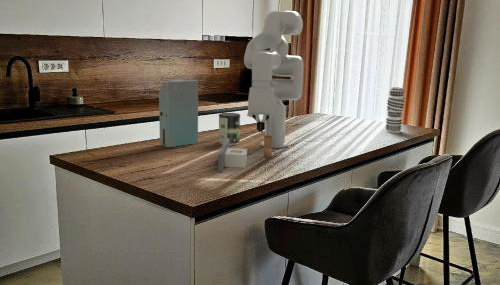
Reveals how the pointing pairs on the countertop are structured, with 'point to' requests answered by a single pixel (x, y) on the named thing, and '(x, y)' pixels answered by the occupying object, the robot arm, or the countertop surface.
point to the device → (178, 113)
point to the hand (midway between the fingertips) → (260, 131)
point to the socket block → (235, 157)
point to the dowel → (267, 146)
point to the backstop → (223, 155)
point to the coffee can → (229, 128)
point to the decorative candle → (395, 110)
